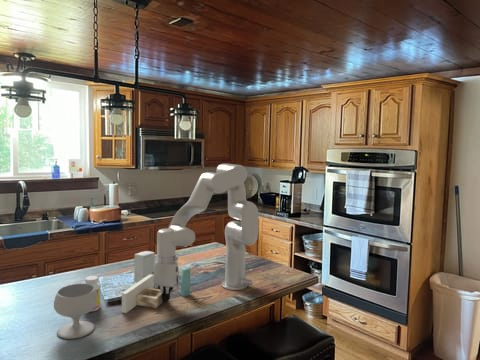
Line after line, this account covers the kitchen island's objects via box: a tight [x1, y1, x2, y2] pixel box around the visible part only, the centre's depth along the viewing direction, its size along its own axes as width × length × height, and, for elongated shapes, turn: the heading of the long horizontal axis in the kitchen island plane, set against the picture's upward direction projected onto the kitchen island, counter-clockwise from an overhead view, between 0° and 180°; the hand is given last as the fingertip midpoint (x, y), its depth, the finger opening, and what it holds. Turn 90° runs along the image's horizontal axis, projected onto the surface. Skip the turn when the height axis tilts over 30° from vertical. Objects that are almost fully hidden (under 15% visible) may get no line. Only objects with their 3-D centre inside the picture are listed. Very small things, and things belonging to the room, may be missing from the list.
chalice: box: [53, 283, 98, 340], centre depth 125 cm, size 14×14×15 cm
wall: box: [121, 274, 154, 314], centre depth 150 cm, size 2×22×8 cm, turn 166°
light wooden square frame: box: [136, 287, 163, 309], centre depth 150 cm, size 9×9×4 cm
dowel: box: [180, 266, 192, 298], centre depth 158 cm, size 4×4×12 cm
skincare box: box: [133, 250, 156, 283], centre depth 170 cm, size 8×6×15 cm
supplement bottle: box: [84, 275, 101, 313], centre depth 142 cm, size 7×7×13 cm
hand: (165, 301), depth 148 cm, fingers closed
